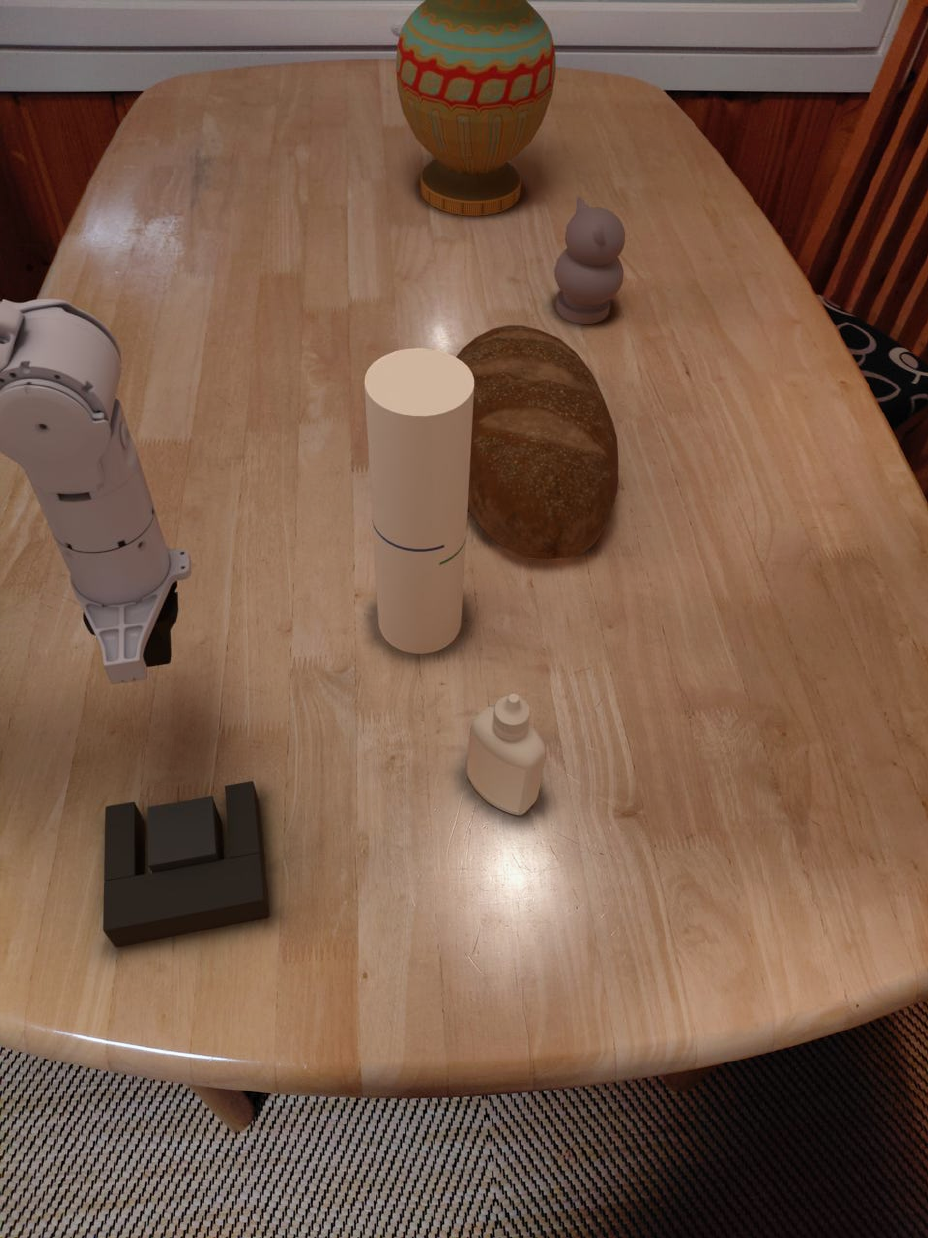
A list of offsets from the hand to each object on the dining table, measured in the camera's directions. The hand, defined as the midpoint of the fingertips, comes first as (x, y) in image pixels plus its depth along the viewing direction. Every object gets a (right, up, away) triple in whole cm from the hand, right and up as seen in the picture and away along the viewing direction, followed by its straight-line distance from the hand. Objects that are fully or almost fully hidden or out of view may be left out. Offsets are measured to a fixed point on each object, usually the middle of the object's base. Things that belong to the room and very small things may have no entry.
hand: (155, 658), depth 64 cm
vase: (+22, +61, +64) cm, 91 cm away
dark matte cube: (+2, -14, +2) cm, 14 cm away
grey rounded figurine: (+35, +39, +47) cm, 71 cm away
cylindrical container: (+17, +2, +16) cm, 24 cm away
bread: (+27, +18, +30) cm, 44 cm away
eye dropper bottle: (+24, -10, +7) cm, 27 cm away
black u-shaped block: (+2, -15, +1) cm, 15 cm away
